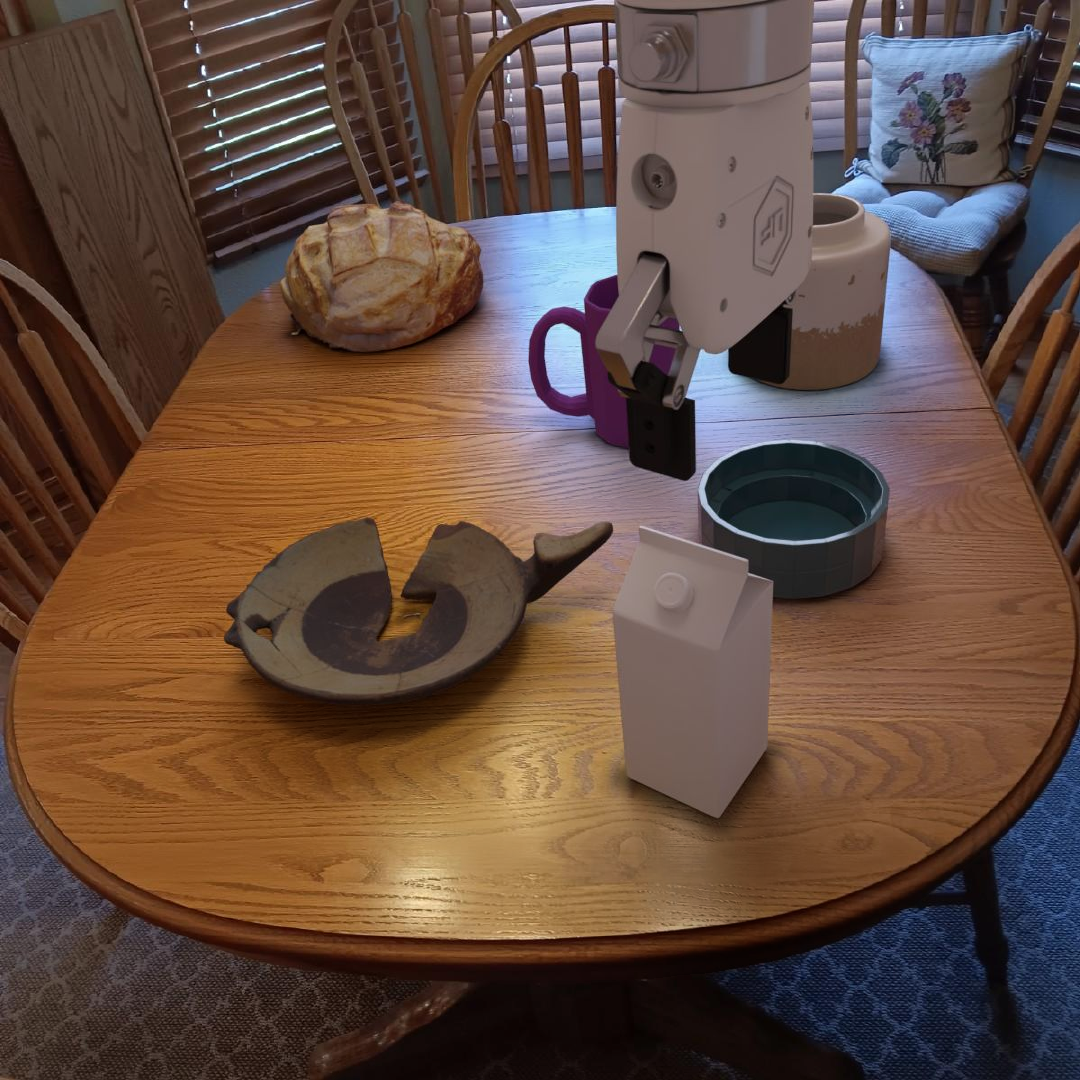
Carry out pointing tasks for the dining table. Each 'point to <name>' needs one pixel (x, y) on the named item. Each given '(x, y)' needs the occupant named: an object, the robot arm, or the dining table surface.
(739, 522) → the shallow pet bowl
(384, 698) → the broken pan
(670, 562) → the milk carton
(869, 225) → the vase
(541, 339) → the mug
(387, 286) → the bread
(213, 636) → the dining table surface
